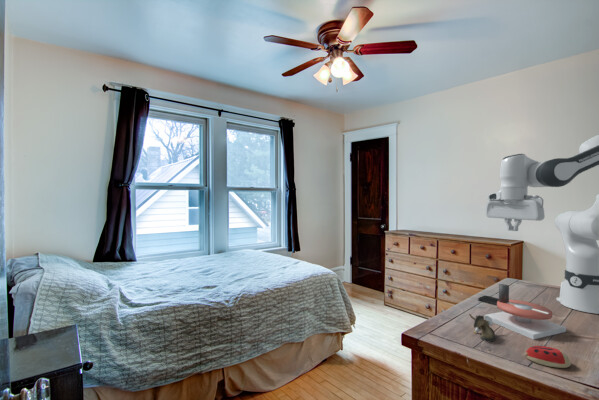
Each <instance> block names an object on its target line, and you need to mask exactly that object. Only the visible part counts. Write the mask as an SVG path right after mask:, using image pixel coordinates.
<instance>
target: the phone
mask: <svg viewBox="0 0 599 400" xmlns="http://www.w3.org/2000/svg"><path fill="white" fill-rule="evenodd" d="M477 301H478V302H482V303H485V304H489V305H493V306H496V307H497V302H498V301H499V297H498V298H497V297H493V296H489V295H482V296H480V297H478V298H477Z"/></svg>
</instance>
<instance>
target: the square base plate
mask: <svg viewBox="0 0 599 400" xmlns="http://www.w3.org/2000/svg"><path fill="white" fill-rule="evenodd" d="M485 316H489V317H490V318H491V319H492V323H493V324H495V325H498V326H500V327H503V328H505V329H508V330H510V331H512V332H514V333H517V334H519V335H522V336H524V337H527V338H529V339H531V340H536V339H541V338H546V337H550V336H554V335H558V334H563V333H566V332H567V327H566V326H564V325H560V324H557V323H555V322H552V321H550V320H548V319H546V320H537V319H528V318H523V317H519V316H515V315H512V314H509V313H506V312H504V311H499V312H492V313H488V314H484V317H485Z"/></svg>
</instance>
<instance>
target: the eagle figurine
mask: <svg viewBox="0 0 599 400" xmlns="http://www.w3.org/2000/svg"><path fill="white" fill-rule="evenodd" d="M468 315H469V317H470V318H471V319H472V320H473V321H474V323H473V328H475V330H474V332H473V333H474V334H476V333H478V332H479V331H481V335H480V339H481V340H482V341H484V342H488V343H489V342H490V343H491V342H494V341H496V338H497V337H496V334H495V331H494V329H493V328H492V326H493V324H494V323H493V322H492V319H491V318H490V317H489V316H485V315H476V316H475V317H474V316H473V315H472V314H470V313H469V314H468Z"/></svg>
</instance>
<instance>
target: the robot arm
mask: <svg viewBox="0 0 599 400" xmlns="http://www.w3.org/2000/svg"><path fill="white" fill-rule="evenodd" d="M597 166H599V134H597V135H594V136H592V137H590V138H588V139H587V140H586V141H584V142H582V143H581V144H580V146H579V148H578V153H576V154H574V155H573V156H570V157H565V158H561V157H560V158H559V157H558V158H552V159H549V160H544V161H537V160H534V159H532V158H531V157H528V156H527V155H526V154H525V153H518V154H511V155H507V156H504V157H503V158H502V159H501V161H500V168H499V179H500V186H499V190H498V191H496V192H493V193H490V194H489V193H488V195H486V199H487V202H486V204H485V215H486V217H487V218H490V219H491V218H493V219H504V223H505V224H506V226H507V231H512V232H519V227H520V225H521V224H522V222H523V221H543V220H544V219H545V210H544V209H545V208H544V198H542V197H541V196H540V195H535V194H534V195H528V193H529V192H528V191H529V190H528V187H529V188H549V187H551V188H560V187H563V186H567V185H568V184H570V183H571V182H572V181H573V180H574V179H575V178H576V177H577V176H578V175H580V174H582V173H584V172H585V171H588V170H590V169H592V168H595V167H597ZM512 220H513V221H514V225H513V224H512V222H513V221H512ZM554 225H555V227H556V228H557V229H558V231H559V233H560V235H561V238H562V242H563V244H564V248H565V269H564V274H563V275H564V280H563V281H561V283H560V290H559V296H557V297H556V298H555V299H556V301H557V302H559V303H560V304H561V305H562V306H564V307H566V308H569V309H573V310H575V311H578V312H579V311H580V312H584V313H588V314H596V315H599V244H598V242H597V241H599V193H598V194H596V196H595V202H594V203H593V204H592V206H591V207H589V208H587V209H584V210H578V209H577V210H576V209H574V210H573V209H572V210H568V211H564V212H561V213H560V214H558V215H557V216H556V217H555V221H554Z"/></svg>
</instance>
